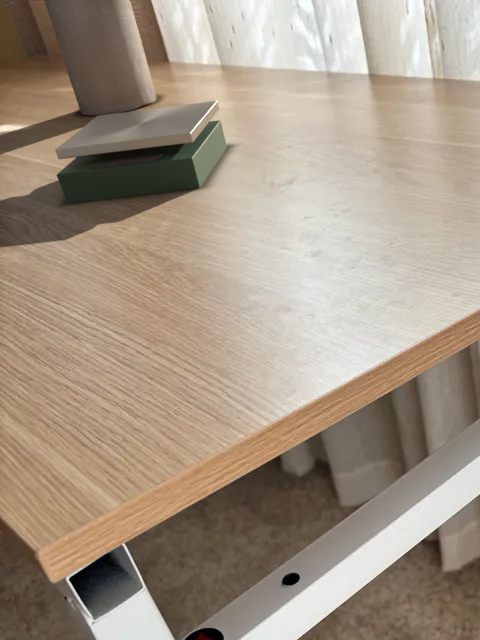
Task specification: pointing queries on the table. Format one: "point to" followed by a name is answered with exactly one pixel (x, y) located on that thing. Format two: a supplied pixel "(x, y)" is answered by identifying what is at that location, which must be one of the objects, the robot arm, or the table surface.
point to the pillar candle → (102, 54)
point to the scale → (143, 169)
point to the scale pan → (139, 130)
